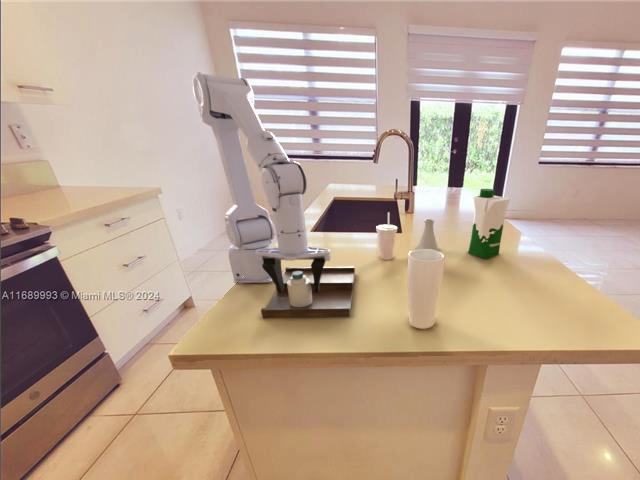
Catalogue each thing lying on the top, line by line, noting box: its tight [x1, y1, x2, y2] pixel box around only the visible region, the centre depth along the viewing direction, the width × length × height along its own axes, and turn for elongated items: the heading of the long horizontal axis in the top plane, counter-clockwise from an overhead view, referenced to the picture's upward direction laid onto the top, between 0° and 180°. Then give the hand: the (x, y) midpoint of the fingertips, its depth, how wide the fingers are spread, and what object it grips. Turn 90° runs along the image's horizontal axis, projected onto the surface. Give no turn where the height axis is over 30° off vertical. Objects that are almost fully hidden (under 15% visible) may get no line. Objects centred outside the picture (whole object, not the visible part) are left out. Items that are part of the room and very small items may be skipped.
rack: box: [260, 266, 356, 319], centre depth 74 cm, size 18×21×3 cm
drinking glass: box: [406, 248, 445, 330], centre depth 61 cm, size 7×7×15 cm
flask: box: [416, 218, 439, 251], centre depth 103 cm, size 7×7×10 cm
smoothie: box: [375, 211, 398, 261], centre depth 95 cm, size 6×6×14 cm
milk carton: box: [467, 188, 510, 260], centre depth 98 cm, size 9×9×20 cm
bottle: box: [287, 271, 313, 307], centre depth 68 cm, size 5×5×7 cm
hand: (299, 290), depth 68 cm, fingers open, 7 cm apart
